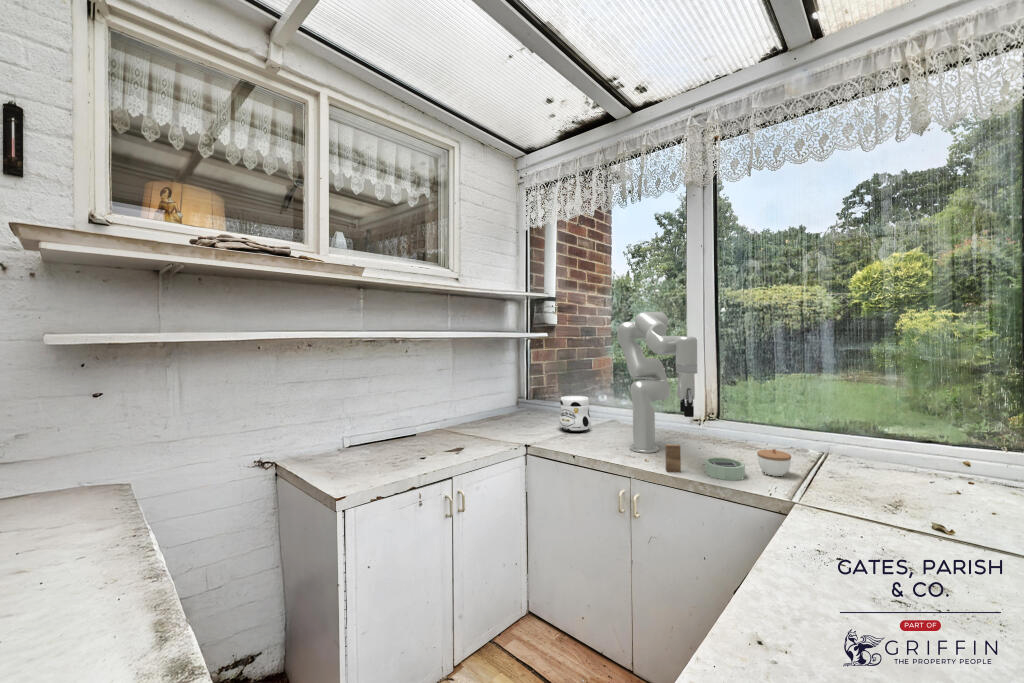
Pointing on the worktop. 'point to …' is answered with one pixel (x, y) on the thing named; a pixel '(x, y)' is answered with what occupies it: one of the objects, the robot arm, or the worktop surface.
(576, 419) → the milk container
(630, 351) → the robot arm
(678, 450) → the brown wooden block
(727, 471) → the green round dish
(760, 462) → the lidded jar
